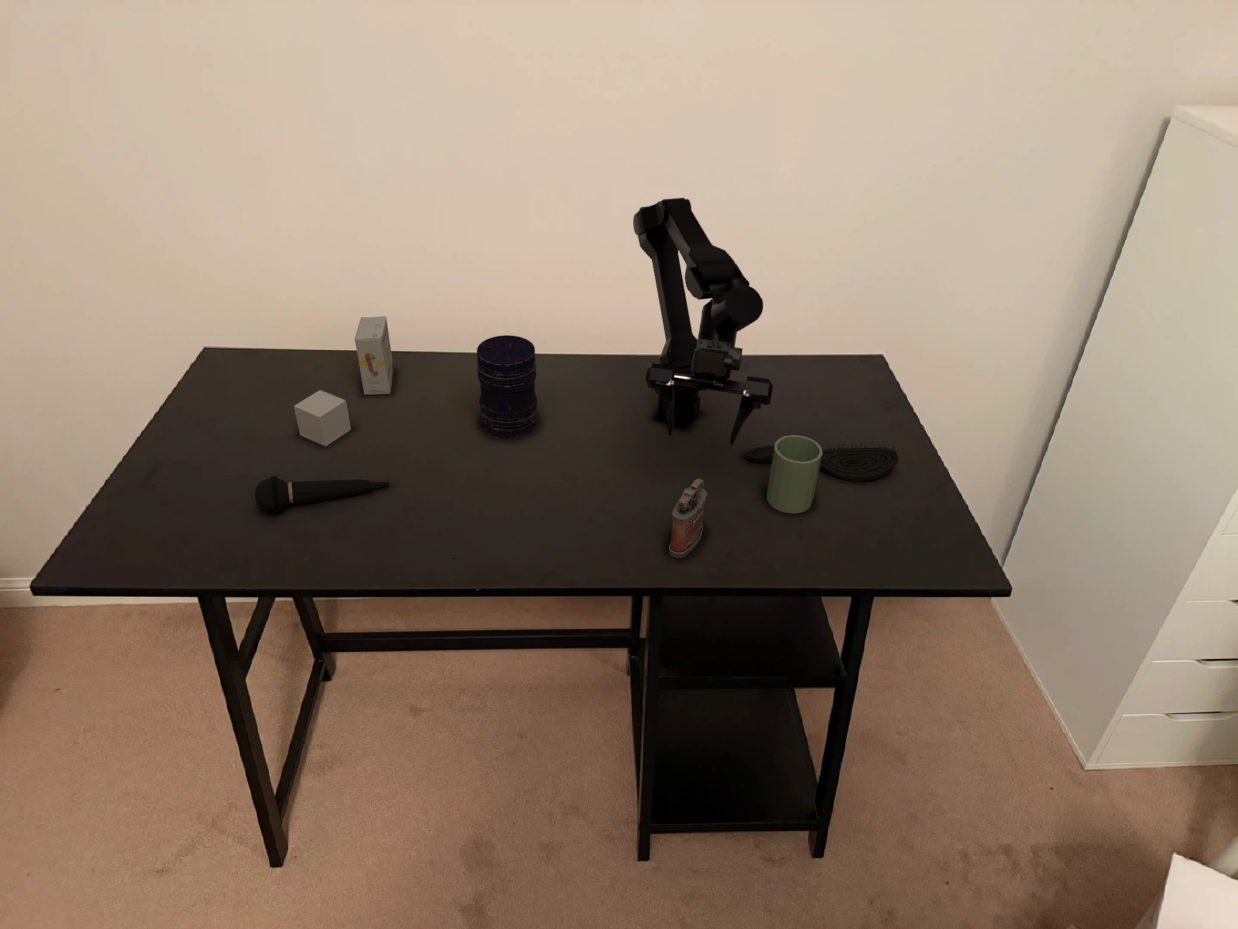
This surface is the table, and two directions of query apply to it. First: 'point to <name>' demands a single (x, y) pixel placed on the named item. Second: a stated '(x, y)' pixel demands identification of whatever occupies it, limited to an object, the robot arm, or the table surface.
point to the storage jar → (507, 386)
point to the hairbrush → (844, 461)
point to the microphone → (308, 491)
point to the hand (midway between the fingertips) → (700, 440)
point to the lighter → (688, 520)
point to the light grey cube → (322, 417)
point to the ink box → (374, 355)
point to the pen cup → (793, 473)
